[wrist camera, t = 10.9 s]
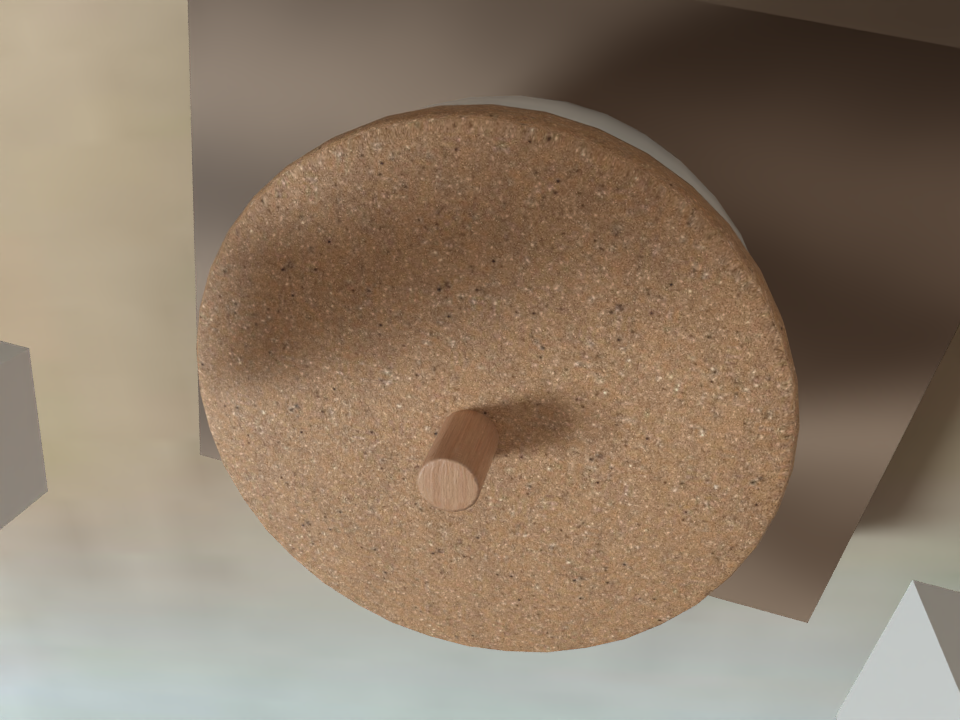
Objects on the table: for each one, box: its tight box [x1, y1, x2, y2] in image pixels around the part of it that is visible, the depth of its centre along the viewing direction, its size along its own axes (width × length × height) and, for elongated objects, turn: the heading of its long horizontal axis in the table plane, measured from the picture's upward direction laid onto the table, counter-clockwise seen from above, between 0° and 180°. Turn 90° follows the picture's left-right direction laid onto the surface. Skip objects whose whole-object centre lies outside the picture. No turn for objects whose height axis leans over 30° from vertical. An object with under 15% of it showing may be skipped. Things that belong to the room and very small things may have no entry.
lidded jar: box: [196, 96, 800, 652], centre depth 16 cm, size 11×11×9 cm
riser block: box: [188, 0, 960, 623], centre depth 20 cm, size 18×20×7 cm
